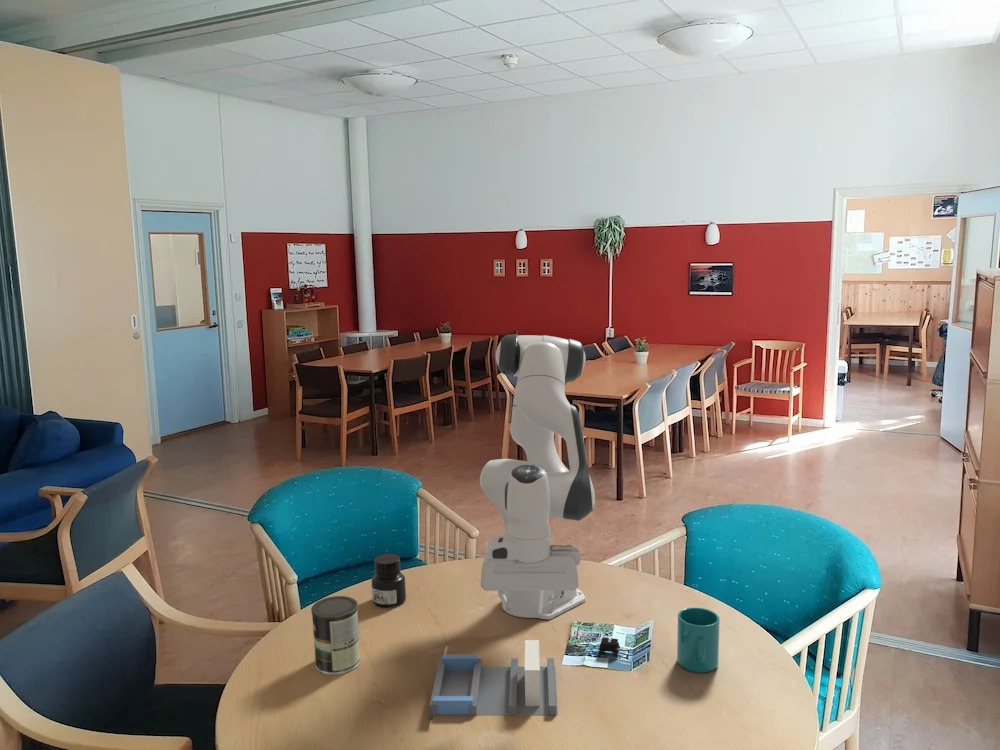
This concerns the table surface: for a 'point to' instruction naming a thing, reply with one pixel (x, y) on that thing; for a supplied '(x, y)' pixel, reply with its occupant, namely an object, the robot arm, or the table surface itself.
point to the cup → (698, 639)
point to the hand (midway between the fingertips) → (530, 608)
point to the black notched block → (609, 646)
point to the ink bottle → (388, 582)
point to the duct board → (488, 688)
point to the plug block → (532, 673)
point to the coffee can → (336, 635)
